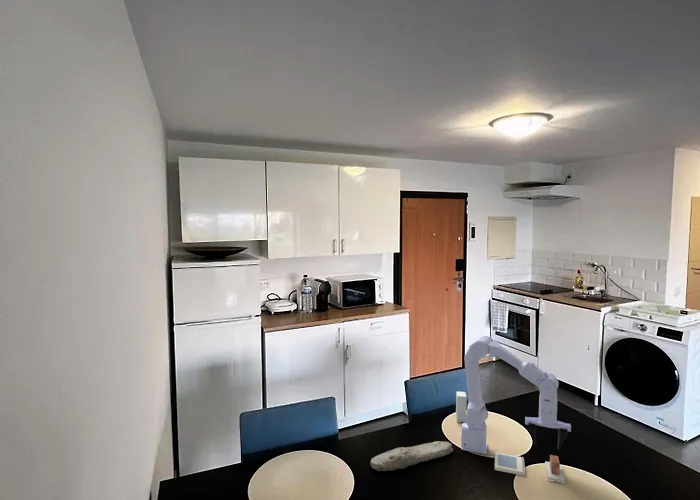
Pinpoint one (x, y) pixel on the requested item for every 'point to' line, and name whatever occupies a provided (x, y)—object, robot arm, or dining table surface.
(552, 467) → the stub
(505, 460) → the ticket board
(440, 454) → the long grey stone
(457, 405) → the skincare box
